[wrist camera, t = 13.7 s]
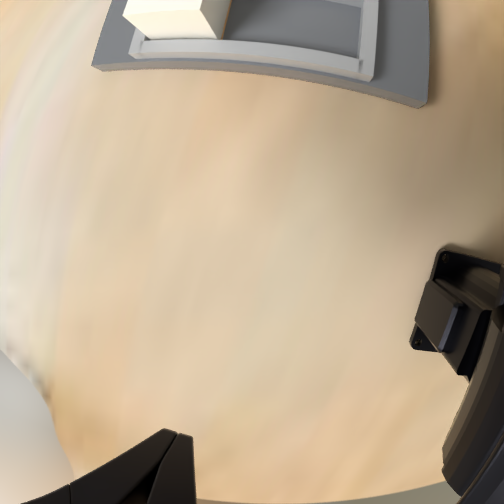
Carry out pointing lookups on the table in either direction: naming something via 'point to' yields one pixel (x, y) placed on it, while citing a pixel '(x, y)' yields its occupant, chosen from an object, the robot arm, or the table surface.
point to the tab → (178, 18)
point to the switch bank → (294, 45)
